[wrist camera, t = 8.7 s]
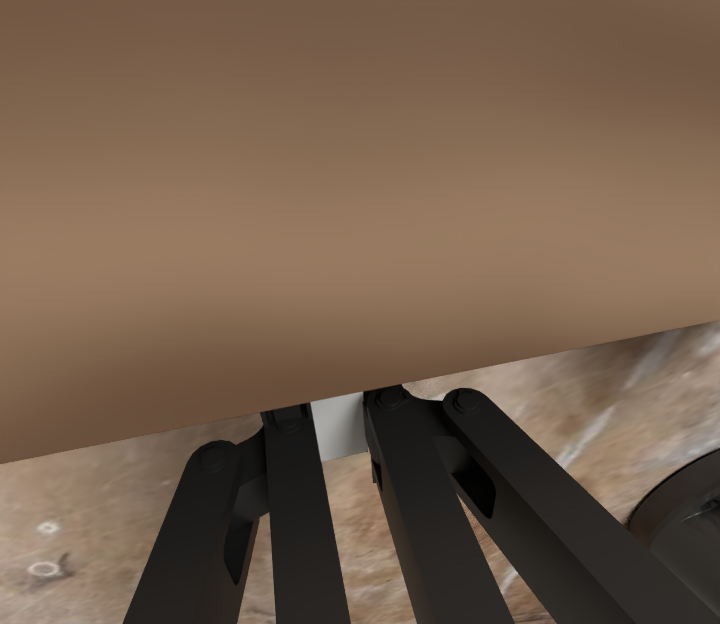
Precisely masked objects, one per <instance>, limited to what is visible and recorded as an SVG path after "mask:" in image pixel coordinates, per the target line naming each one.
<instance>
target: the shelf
mask: <svg viewBox="0 0 720 624" xmlns="http://www.w3.org/2000/svg"><path fill="white" fill-rule="evenodd" d="M718 320H720V0H0V464H4V463H9V462H14V461H19V460H24V459H29V458H34V457H39V456H44V455H49V454H54V453H59V452H64V451H69V450H74V449H79V448H84V447H89V446H94V445H99V444H104V443H109V442H114V441H119V440H124V439H129V438H134V437H139V436H144V435H149V434H154V433H158V432H163V431H168V430H173V429H178V428H183V427H188V426H193V425H198V424H203V423H208V422H213V421H218V420H223V419H228V418H233V417H238V416H243V415H248V414H253V413H258V412H263V411H268V410H273V409H278V408H283V407H288V406H293V405H298V404H303V403H308V402H313V401H318V400H323V399H328V398H333V397H338V396H343V395H348V394H353V393H358V392H363V391H368V390H373V389H378V388H383V387H388V386H393V385H398V384H403V383H408V382H413V381H418V380H423V379H428V378H433V377H438V376H443V375H448V374H453V373H458V372H463V371H468V370H473V369H478V368H483V367H488V366H493V365H498V364H503V363H508V362H513V361H518V360H523V359H528V358H533V357H538V356H543V355H548V354H553V353H558V352H563V351H568V350H573V349H578V348H583V347H588V346H593V345H598V344H603V343H608V342H613V341H618V340H623V339H628V338H633V337H638V336H643V335H648V334H653V333H658V332H663V331H668V330H673V329H678V328H683V327H688V326H693V325H698V324H703V323H708V322H713V321H718Z"/></svg>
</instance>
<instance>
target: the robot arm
mask: <svg viewBox="0 0 720 624" xmlns="http://www.w3.org/2000/svg"><path fill="white" fill-rule="evenodd" d="M260 414H261V418H262V421H263V427H262V428H261V429H260V431H258V432H257V433H256V434H255V435H254V436H252V437H251V438H249V439H247V440H245V441H243V442H241V443H239V444H237V445H235V444H233V443H232V442H230V441H224V440H218V441H212V442H209V443H207V444H205V445H203V446H201V447H200V448H199V449H197V450H196V451H195V452H194V453H193V454H192V455H191V457H190V459H189V460H188V462H187V464H186V467H185V469H184V472H183V474H182V477H181V479H180V482H179V484H178V487H177V489H176V492H175V494H174V497H173V499H172V502H171V504H170V507H169V509H168V512H167V514H166V517H165V519H164V522H163V524H162V527H161V529H160V532H159V534H158V537H157V539H156V542H155V544H154V547H153V549H152V552H151V554H150V557H149V559H148V562H147V564H146V567H145V569H144V572H143V574H142V577H141V579H140V582H139V584H138V586H137V589H136V591H135V594H134V596H133V599H132V601H131V604H130V606H129V609H128V611H127V614H126V616H125V619H124V621H123V624H237V621H238V617H239V612H240V607H241V603H242V598H243V593H244V589H245V584H246V580H247V575H248V570H249V566H250V561H251V557H252V552H253V547H254V543H255V538H256V534H257V529H258V524H259V517H261V516H263V515H265V514H266V513H268V512H269V513H270V529H271V546H272V562H273V579H274V595H275V612H276V624H351V621H350V616H349V610H348V605H347V600H346V594H345V589H344V583H343V578H342V572H341V567H340V561H339V556H338V550H337V545H336V540H335V534H334V529H333V523H332V518H331V512H330V507H329V501H328V496H327V491H326V485H325V480H324V474H323V469H322V463H321V462H324V461H328V460H332V459H337V458H341V457H346V456H350V455H355V454H359V453H364V452H368V447H369V451H370V454H371V463H372V476H373V483H377V487H378V490H379V494H380V497H381V501H382V504H383V507H384V511H385V514H386V518H387V521H388V525H389V528H390V532H391V535H392V538H393V542H394V545H395V549H396V552H397V556H398V559H399V563H400V566H401V570H402V573H403V576H404V580H405V583H406V587H407V590H408V594H409V597H410V601H411V604H412V608H413V611H414V614H415V618H416V621H417V624H515V623H514V621H513V618H512V616H511V614H510V612H509V610H508V607H507V605H506V603H505V601H504V598H503V596H502V594H501V592H500V590H499V587H498V585H497V583H496V581H495V578H494V576H493V574H492V572H491V570H490V567H489V565H488V563H487V561H486V558H485V556H484V554H483V552H482V550H481V547H480V545H479V543H478V541H477V538H476V536H475V534H474V532H473V530H472V527H471V525H470V523H469V521H468V518H467V516H466V514H465V512H464V510H463V507H462V505H461V503H460V501H459V498H458V496H459V497H460V498H461V499H462V501H463V502H464V503H465V505H466V506H467V507H468V509H469V510H470V511H471V512H472V514H473V515H474V516H475V518H476V519H477V520H478V522H479V523H480V524H481V525H482V527H483V528H484V529H485V531H486V532H487V533H488V535H489V536H490V537H491V538H492V540H493V541H494V542H495V544H496V545H497V546H498V548H499V549H500V550H501V551H502V553H503V554H504V555H505V557H506V558H507V559H508V561H509V562H510V563H511V564H512V566H513V567H514V568H515V570H516V571H517V572H518V574H519V575H520V576H521V577H522V579H523V580H524V581H525V583H526V584H527V585H528V587H529V588H530V589H531V590H532V592H533V593H534V594H535V596H536V597H537V598H538V600H539V601H540V602H541V603H542V605H543V606H544V607H545V609H546V610H547V611H548V613H549V614H550V615H551V616H552V618H553V619H554V620H555V622H556V623H557V624H720V450H719V451H717V452H714V453H712V454H710V455H708V456H706V457H704V458H702V459H700V460H698V461H697V462H695V463H693V464H691V465H690V466H688V467H686V468H685V469H683V470H682V471H680V472H679V473H677V474H676V475H674V476H673V477H671V478H670V479H669V480H667V481H666V482H665V483H664V484H662V485H661V486H660V487H659V488H657V489H656V490H655V491H654V492H653V493H652V494H651V495H650V496H649V497H648V498H647V499H646V500H645V501H644V502H643V503H642V504H641V506H640V507H639V508H638V509H637V511H636V512H635V514H634V515H633V517H632V519H631V521H630V524H629V527H628V530H627V529H626V528H625V527H624V526H623V525H622V524H621V523H620V522H619V521H618V520H616V519H615V518H614V517H613V516H612V515H611V514H610V513H609V512H608V511H607V510H606V509H605V508H604V507H603V506H602V505H601V504H600V503H599V502H598V501H596V500H595V499H594V498H593V497H592V496H591V495H590V494H589V493H588V492H587V491H586V490H585V489H584V488H583V487H582V486H581V485H580V484H579V483H578V482H577V481H575V480H574V479H573V478H572V477H571V476H570V475H569V474H568V473H567V472H566V471H565V470H564V469H563V468H562V467H561V466H560V465H559V464H558V463H557V462H555V461H554V460H553V459H552V458H551V457H550V456H549V455H548V454H547V453H546V452H545V451H544V450H543V449H542V448H541V447H540V446H539V445H538V444H537V443H535V442H534V441H533V440H532V439H531V438H530V437H529V436H528V435H527V434H526V433H525V432H524V431H523V430H522V429H521V428H520V427H519V426H518V425H517V424H515V423H514V422H513V421H512V420H511V419H510V418H509V417H508V416H507V415H506V414H505V413H504V412H503V411H502V410H501V409H500V408H499V407H498V406H497V405H496V404H494V403H493V402H492V401H491V400H490V399H489V398H488V397H487V396H486V395H484V394H483V393H481V392H480V391H477V390H474V389H471V388H459V389H455V390H452V391H450V392H449V393H447V394H446V396H445V397H444V399H443V401H439V400H425V399H420V398H417V397H414V396H412V395H411V394H410V393H409V391H407V390H406V389H404V388H403V386H402V384H398V385H393V386H388V387H383V388H378V389H373V390H368V391H363V392H358V393H353V394H348V395H343V396H338V397H333V398H328V399H323V400H318V401H313V402H308V403H303V404H298V405H293V406H288V407H283V408H278V409H273V410H268V411H263V412H260ZM367 444H368V445H367ZM456 493H457V494H458V496H457V494H456Z"/></svg>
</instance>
